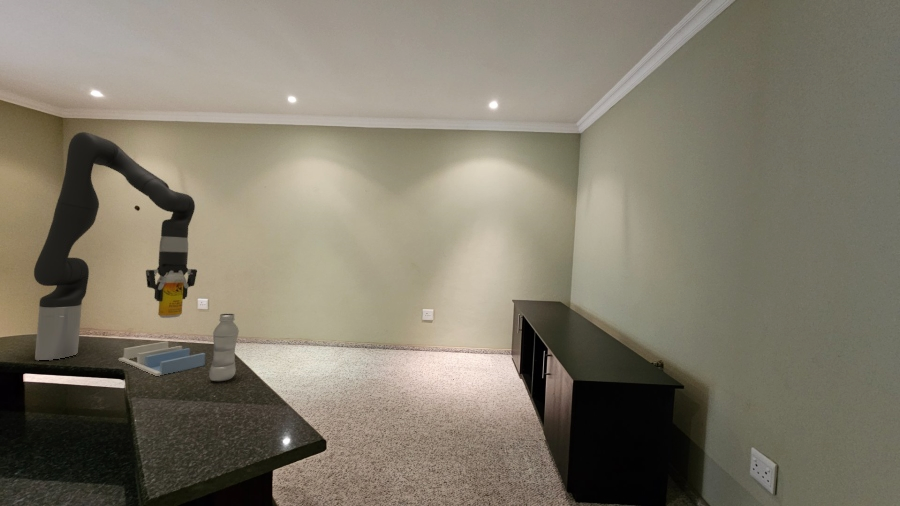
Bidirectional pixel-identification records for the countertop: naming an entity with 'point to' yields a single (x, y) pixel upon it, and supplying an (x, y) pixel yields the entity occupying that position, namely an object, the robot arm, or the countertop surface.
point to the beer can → (172, 296)
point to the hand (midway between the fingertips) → (171, 299)
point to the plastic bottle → (224, 349)
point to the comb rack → (162, 358)
